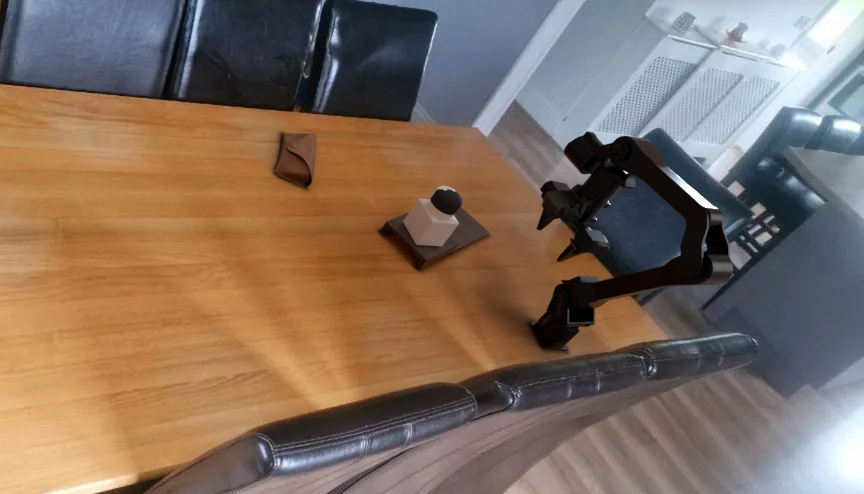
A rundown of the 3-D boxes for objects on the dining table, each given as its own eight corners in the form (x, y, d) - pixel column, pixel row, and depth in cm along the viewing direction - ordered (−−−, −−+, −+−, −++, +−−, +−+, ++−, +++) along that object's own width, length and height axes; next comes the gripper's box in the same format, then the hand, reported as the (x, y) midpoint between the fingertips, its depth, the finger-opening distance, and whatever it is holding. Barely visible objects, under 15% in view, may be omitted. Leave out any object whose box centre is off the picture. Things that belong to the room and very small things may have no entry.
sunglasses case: (280, 130, 164) (303, 116, 161) (298, 151, 168) (321, 137, 164) (273, 173, 151) (298, 159, 148) (293, 196, 154) (318, 182, 151)
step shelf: (451, 201, 171) (457, 192, 170) (487, 234, 167) (494, 226, 165) (379, 231, 151) (386, 221, 149) (419, 270, 146) (426, 260, 145)
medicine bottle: (442, 247, 150) (473, 206, 143) (415, 245, 147) (446, 204, 139) (427, 223, 155) (456, 183, 147) (401, 221, 151) (430, 180, 144)
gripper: (544, 152, 141) (499, 209, 150) (590, 217, 128) (538, 273, 138) (585, 162, 145) (539, 216, 155) (634, 225, 132) (580, 280, 142)
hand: (548, 245), depth 147 cm, fingers open, 9 cm apart
